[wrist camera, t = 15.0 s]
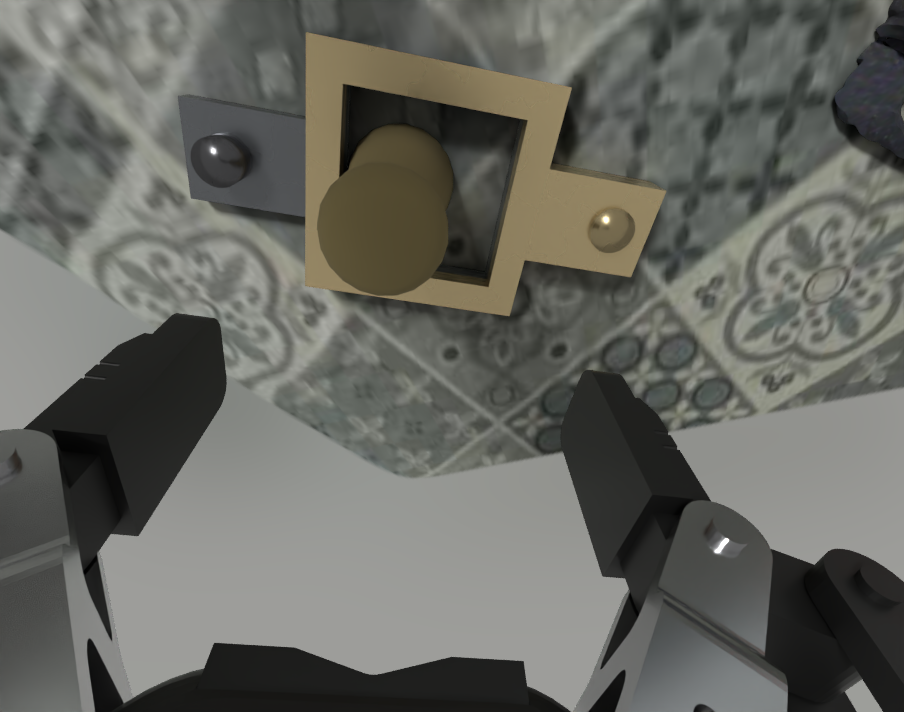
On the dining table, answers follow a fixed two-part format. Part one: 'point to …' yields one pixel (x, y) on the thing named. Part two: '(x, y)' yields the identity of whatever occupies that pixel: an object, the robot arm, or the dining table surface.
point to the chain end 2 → (530, 187)
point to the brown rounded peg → (388, 212)
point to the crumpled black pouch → (878, 86)
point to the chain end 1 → (263, 159)
